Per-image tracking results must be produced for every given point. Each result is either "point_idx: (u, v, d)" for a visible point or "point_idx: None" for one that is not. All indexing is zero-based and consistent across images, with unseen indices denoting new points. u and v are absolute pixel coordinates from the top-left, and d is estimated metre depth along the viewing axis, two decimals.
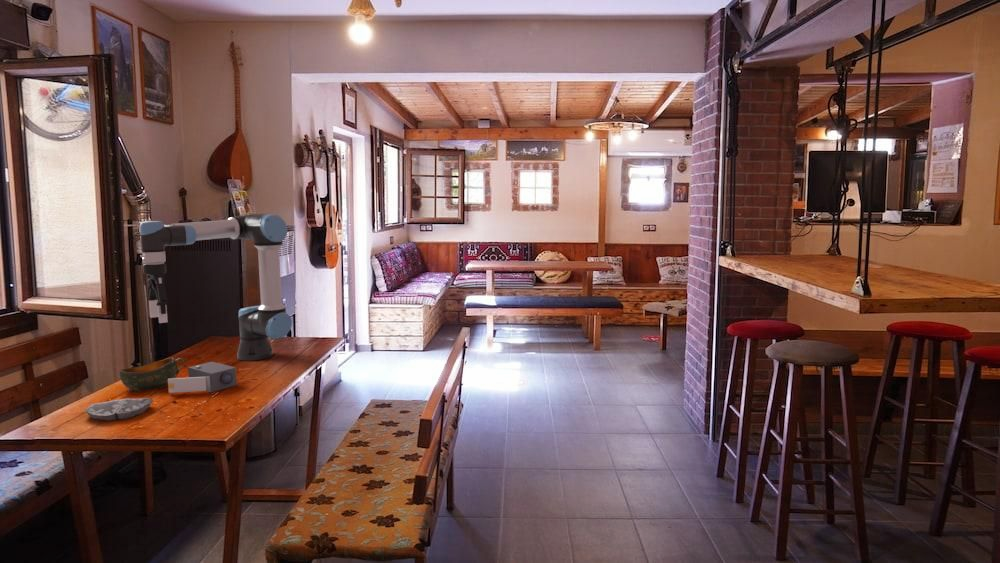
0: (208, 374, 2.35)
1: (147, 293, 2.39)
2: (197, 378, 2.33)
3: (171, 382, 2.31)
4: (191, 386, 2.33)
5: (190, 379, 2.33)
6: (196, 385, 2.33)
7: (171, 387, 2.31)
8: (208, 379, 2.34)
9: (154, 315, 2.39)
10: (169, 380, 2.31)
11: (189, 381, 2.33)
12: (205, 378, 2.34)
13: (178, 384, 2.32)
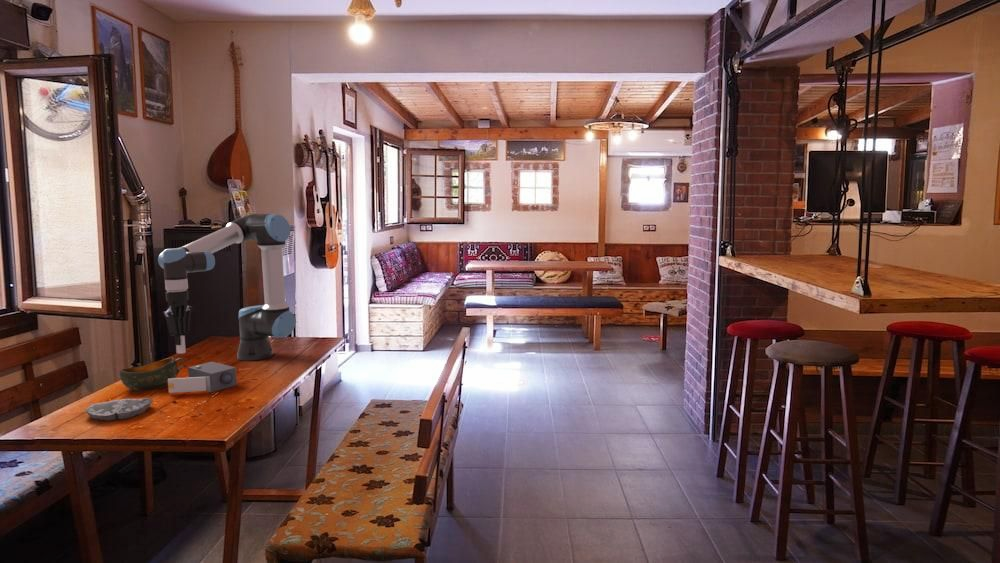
0: (208, 374, 2.35)
1: None
2: (197, 378, 2.33)
3: (171, 382, 2.31)
4: (191, 386, 2.33)
5: (190, 379, 2.33)
6: (196, 385, 2.33)
7: (171, 387, 2.31)
8: (208, 379, 2.34)
9: None
10: (169, 380, 2.31)
11: (189, 381, 2.33)
12: (205, 378, 2.34)
13: (178, 384, 2.32)
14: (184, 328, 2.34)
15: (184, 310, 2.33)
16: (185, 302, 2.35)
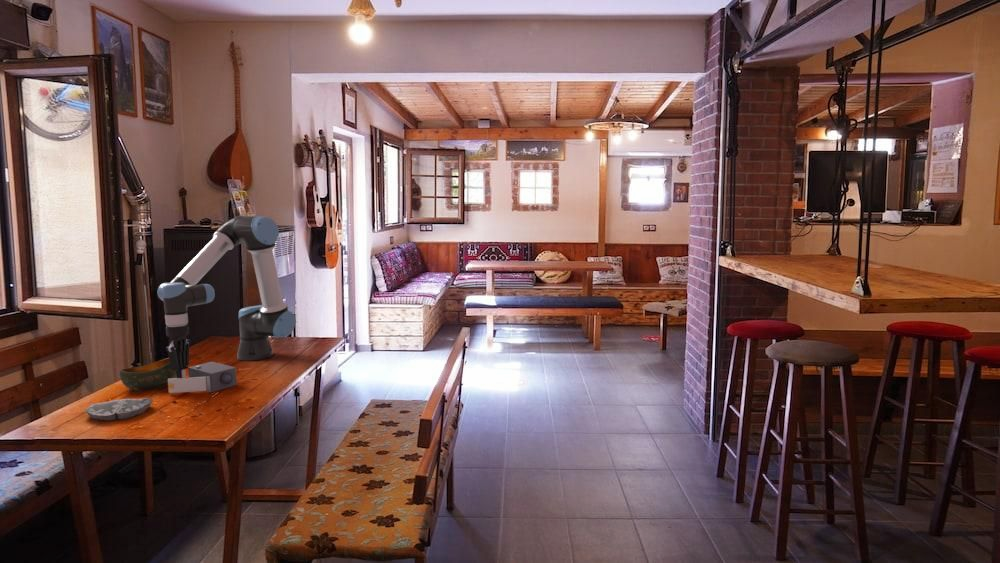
0: (208, 374, 2.35)
1: None
2: (197, 378, 2.33)
3: (171, 382, 2.31)
4: (191, 386, 2.33)
5: (190, 379, 2.33)
6: (196, 385, 2.33)
7: (171, 387, 2.31)
8: (208, 379, 2.34)
9: None
10: (169, 380, 2.31)
11: (189, 381, 2.33)
12: (205, 378, 2.34)
13: (178, 384, 2.32)
14: (184, 362, 2.35)
15: (184, 344, 2.34)
16: (184, 336, 2.35)
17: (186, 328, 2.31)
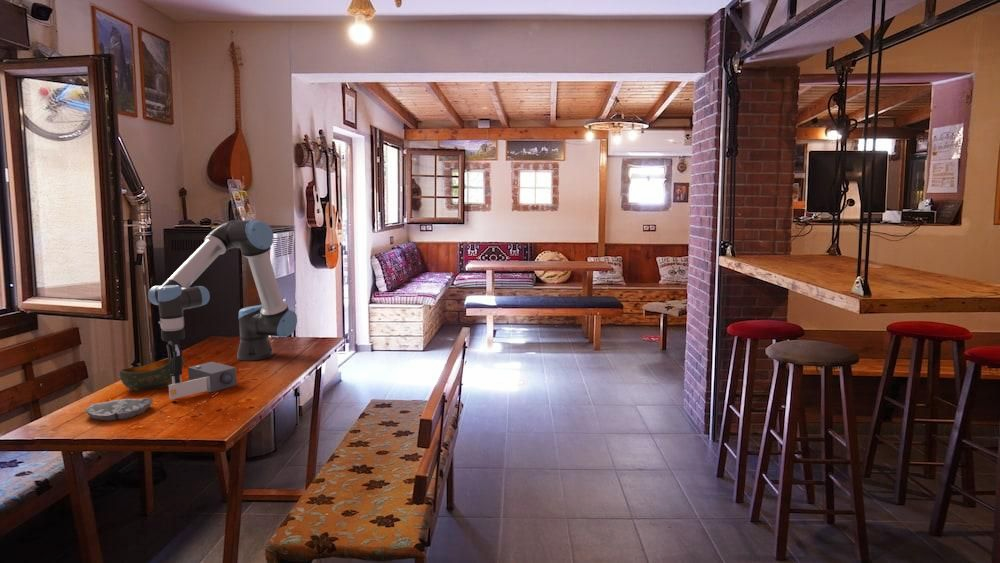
0: (208, 374, 2.35)
1: None
2: (198, 380, 2.31)
3: (173, 388, 2.25)
4: (193, 389, 2.30)
5: (191, 382, 2.29)
6: (197, 387, 2.31)
7: (174, 393, 2.24)
8: (209, 379, 2.34)
9: None
10: (171, 386, 2.24)
11: (190, 384, 2.29)
12: (206, 378, 2.33)
13: (180, 389, 2.27)
14: None
15: None
16: None
17: (184, 330, 2.27)
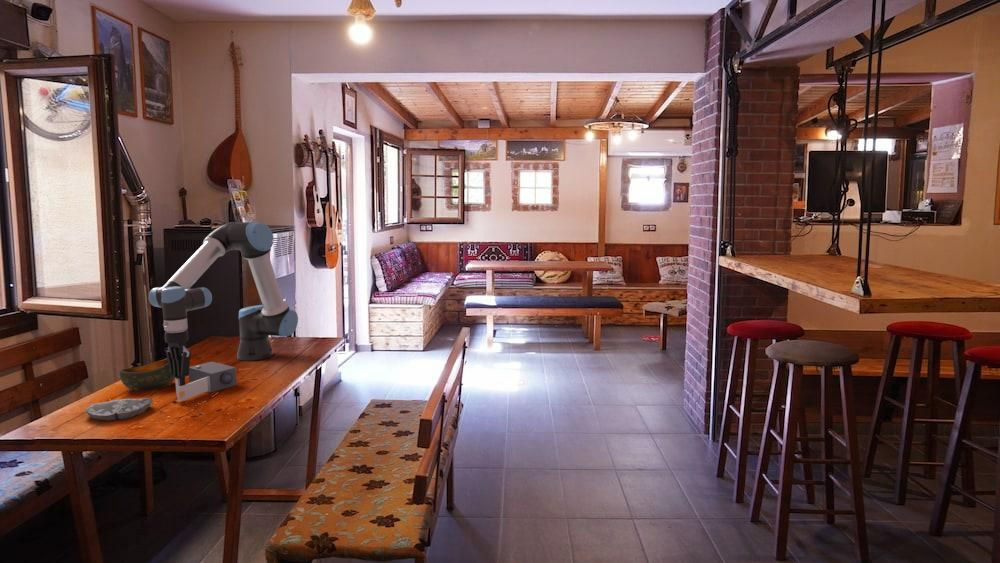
0: (208, 374, 2.35)
1: (170, 370, 2.26)
2: (201, 380, 2.31)
3: (181, 390, 2.22)
4: (197, 389, 2.29)
5: (196, 382, 2.28)
6: (200, 387, 2.30)
7: (183, 394, 2.22)
8: (209, 379, 2.34)
9: None
10: (179, 388, 2.22)
11: (195, 385, 2.28)
12: (207, 378, 2.33)
13: (187, 391, 2.25)
14: None
15: None
16: None
17: None
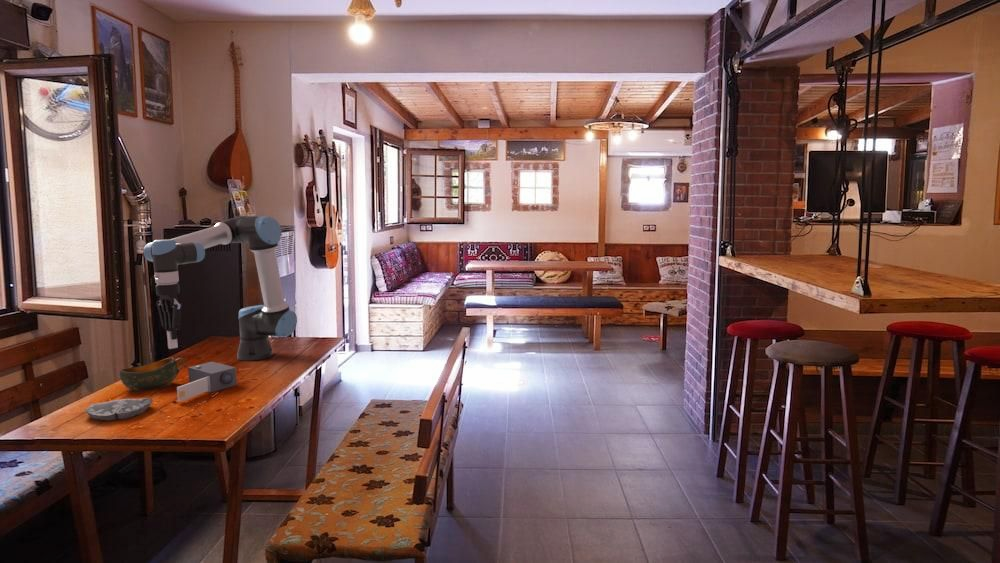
0: (208, 374, 2.35)
1: (161, 323, 2.26)
2: (201, 380, 2.31)
3: (181, 390, 2.22)
4: (197, 389, 2.29)
5: (196, 382, 2.28)
6: (200, 387, 2.30)
7: (183, 394, 2.22)
8: (209, 379, 2.34)
9: None
10: (179, 388, 2.22)
11: (195, 385, 2.28)
12: (207, 378, 2.33)
13: (187, 391, 2.25)
14: None
15: None
16: None
17: None
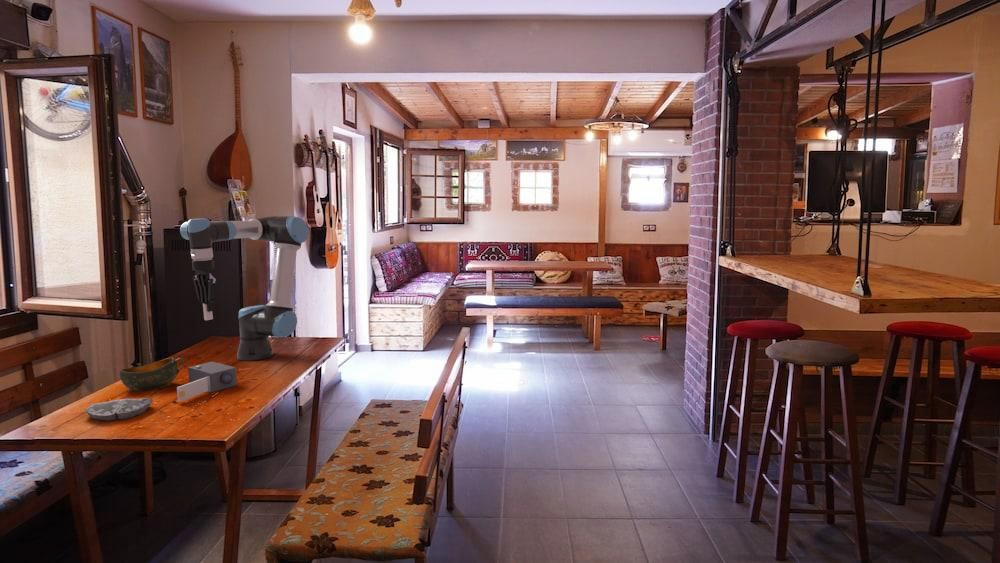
0: (208, 374, 2.35)
1: (197, 296, 2.43)
2: (201, 380, 2.31)
3: (181, 390, 2.22)
4: (197, 389, 2.29)
5: (196, 382, 2.28)
6: (200, 387, 2.30)
7: (183, 394, 2.22)
8: (209, 379, 2.34)
9: None
10: (179, 388, 2.22)
11: (195, 385, 2.28)
12: (207, 378, 2.33)
13: (187, 391, 2.25)
14: None
15: None
16: None
17: None
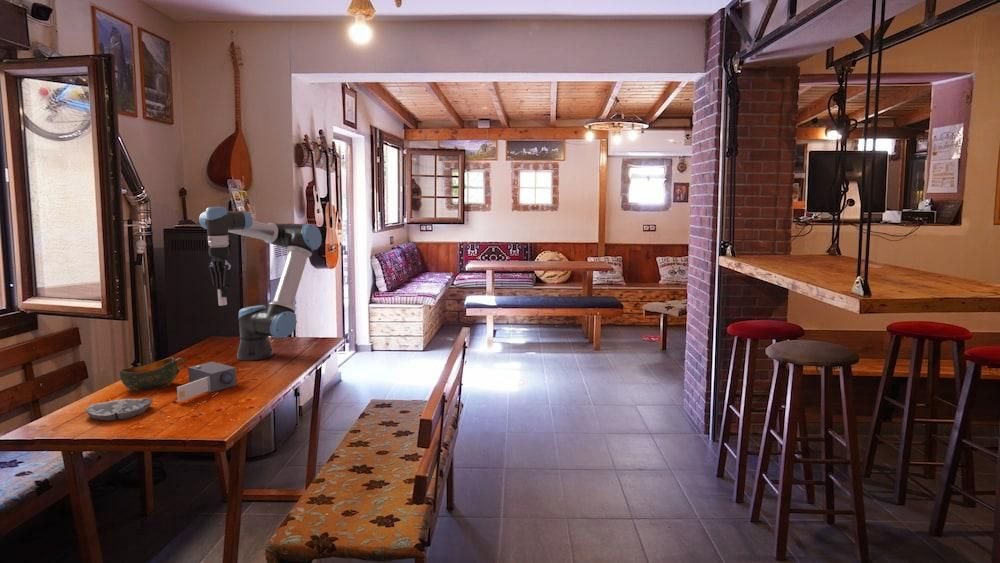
0: (208, 374, 2.35)
1: (213, 282, 2.51)
2: (201, 380, 2.31)
3: (181, 390, 2.22)
4: (197, 389, 2.29)
5: (196, 382, 2.28)
6: (200, 387, 2.30)
7: (183, 394, 2.22)
8: (209, 379, 2.34)
9: None
10: (179, 388, 2.22)
11: (195, 385, 2.28)
12: (207, 378, 2.33)
13: (187, 391, 2.25)
14: None
15: None
16: None
17: None
